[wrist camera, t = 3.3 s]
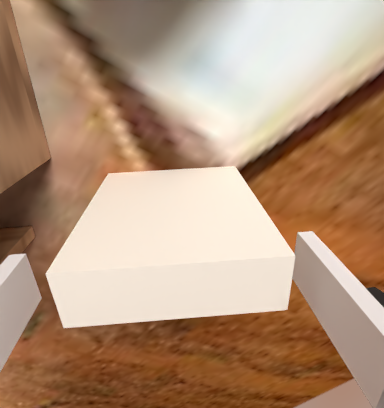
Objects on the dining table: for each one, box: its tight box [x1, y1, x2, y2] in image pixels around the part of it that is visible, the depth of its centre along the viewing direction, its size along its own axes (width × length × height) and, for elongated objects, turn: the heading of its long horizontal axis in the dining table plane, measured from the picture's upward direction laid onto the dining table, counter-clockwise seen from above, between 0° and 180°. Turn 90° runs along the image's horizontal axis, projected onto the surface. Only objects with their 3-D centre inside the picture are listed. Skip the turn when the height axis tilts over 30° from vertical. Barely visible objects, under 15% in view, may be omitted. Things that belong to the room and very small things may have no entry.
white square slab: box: [46, 166, 295, 328], centre depth 17 cm, size 4×10×12 cm, turn 92°
